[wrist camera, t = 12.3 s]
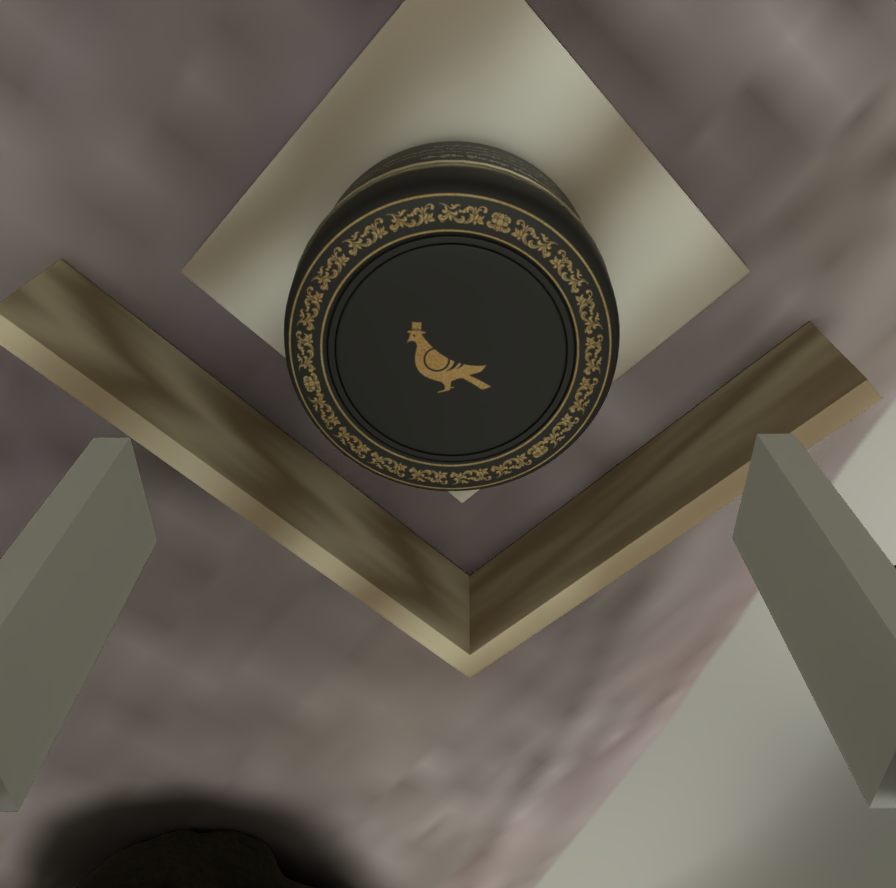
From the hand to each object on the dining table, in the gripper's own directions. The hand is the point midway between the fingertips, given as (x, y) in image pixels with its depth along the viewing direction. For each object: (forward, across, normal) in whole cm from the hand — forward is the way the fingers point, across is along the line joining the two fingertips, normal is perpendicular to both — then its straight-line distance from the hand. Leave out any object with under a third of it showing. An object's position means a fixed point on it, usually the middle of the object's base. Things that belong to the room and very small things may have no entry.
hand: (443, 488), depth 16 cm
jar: (+14, 0, 0) cm, 14 cm away
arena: (+15, 0, -2) cm, 15 cm away
